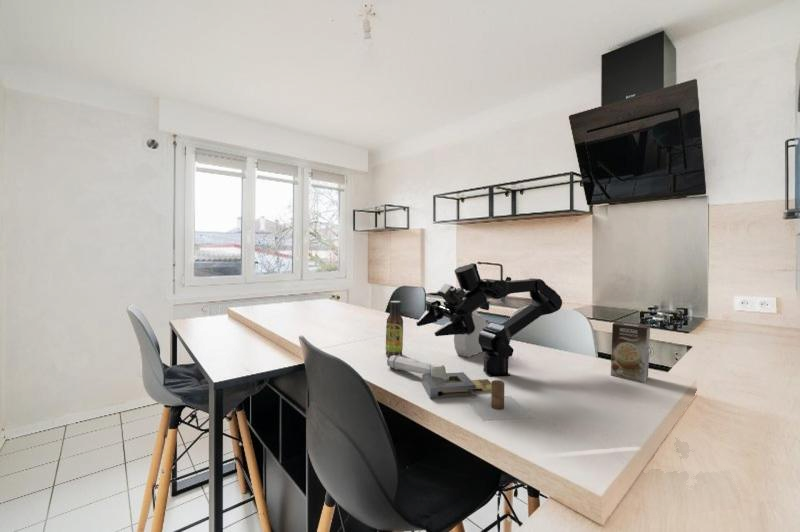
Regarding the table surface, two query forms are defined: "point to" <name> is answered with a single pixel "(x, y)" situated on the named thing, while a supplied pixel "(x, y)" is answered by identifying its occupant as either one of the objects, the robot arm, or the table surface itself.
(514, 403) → the grey mat
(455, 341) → the soap bottle
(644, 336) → the coffee box
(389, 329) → the sauce bottle
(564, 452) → the table surface
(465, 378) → the grey block with slider
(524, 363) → the table surface
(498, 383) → the walnut peg
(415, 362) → the white long cylinder
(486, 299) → the robot arm
